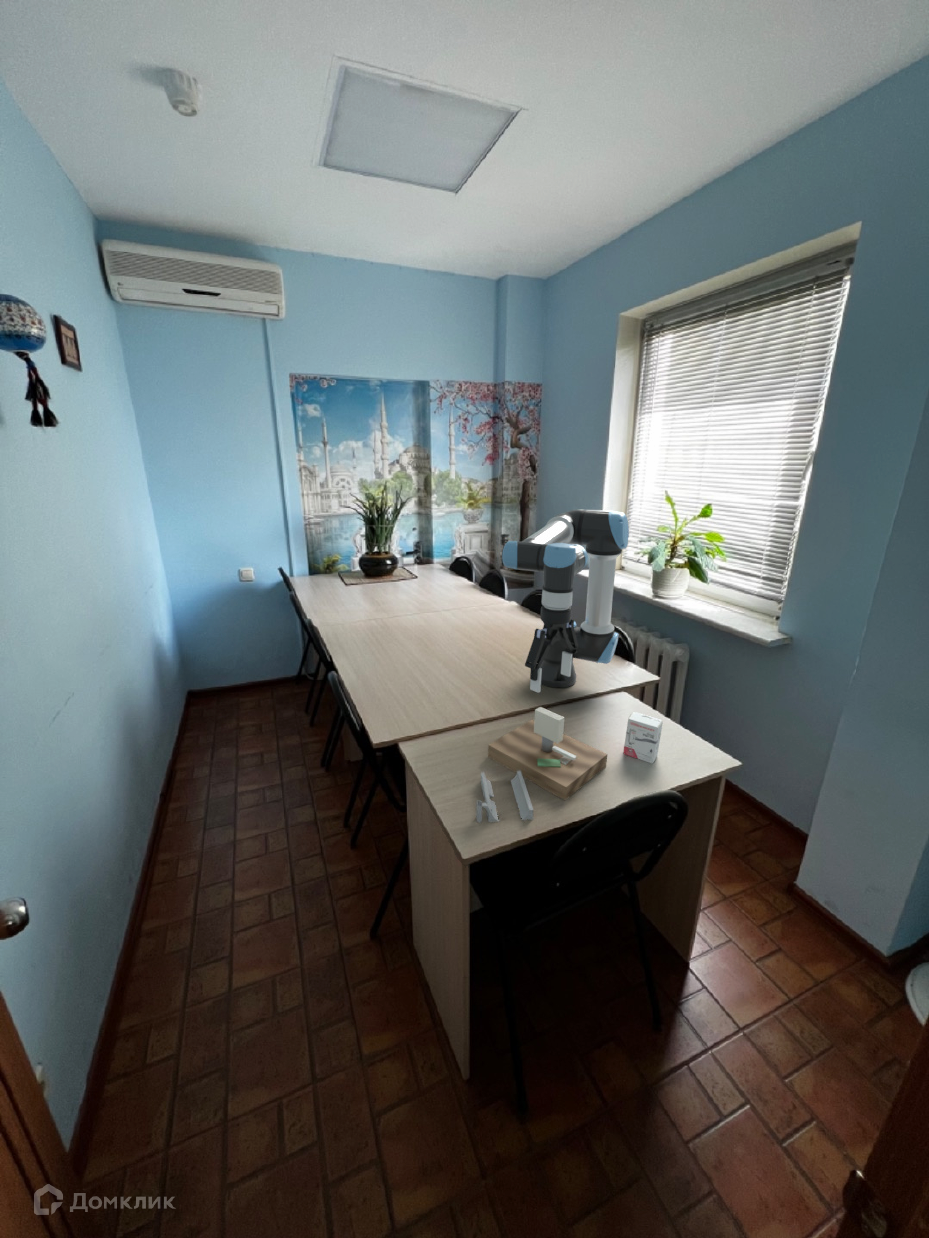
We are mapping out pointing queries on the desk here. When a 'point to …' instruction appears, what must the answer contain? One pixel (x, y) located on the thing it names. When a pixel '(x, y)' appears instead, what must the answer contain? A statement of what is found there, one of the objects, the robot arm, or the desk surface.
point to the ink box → (643, 737)
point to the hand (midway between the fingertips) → (550, 682)
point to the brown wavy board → (547, 760)
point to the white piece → (550, 730)
